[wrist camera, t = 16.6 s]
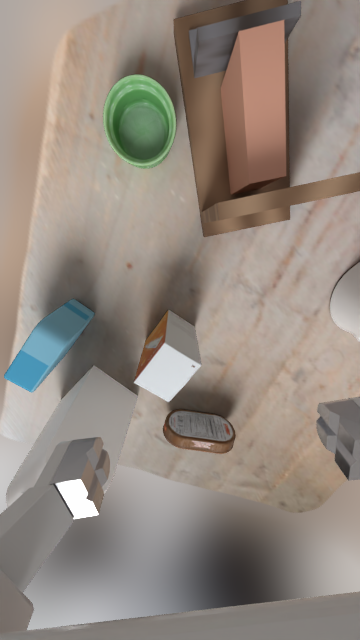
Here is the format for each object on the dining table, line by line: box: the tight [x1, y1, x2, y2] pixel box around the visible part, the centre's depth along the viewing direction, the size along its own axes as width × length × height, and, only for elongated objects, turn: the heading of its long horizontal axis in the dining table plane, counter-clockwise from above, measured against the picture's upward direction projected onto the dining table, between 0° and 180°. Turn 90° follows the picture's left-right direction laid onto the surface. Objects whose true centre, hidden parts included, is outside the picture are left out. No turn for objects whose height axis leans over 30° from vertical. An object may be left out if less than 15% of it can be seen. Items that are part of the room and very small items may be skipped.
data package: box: [4, 299, 95, 392], centre depth 37 cm, size 12×4×12 cm, turn 141°
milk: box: [6, 365, 138, 508], centre depth 37 cm, size 12×12×26 cm
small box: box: [134, 310, 202, 402], centre depth 37 cm, size 8×6×13 cm
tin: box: [163, 409, 235, 454], centre depth 47 cm, size 15×3×8 cm, turn 79°
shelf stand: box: [174, 0, 360, 237], centre depth 25 cm, size 13×24×16 cm, turn 11°
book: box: [221, 20, 286, 195], centre depth 27 cm, size 4×12×9 cm, turn 11°
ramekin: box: [103, 74, 176, 168], centre depth 30 cm, size 9×9×4 cm
